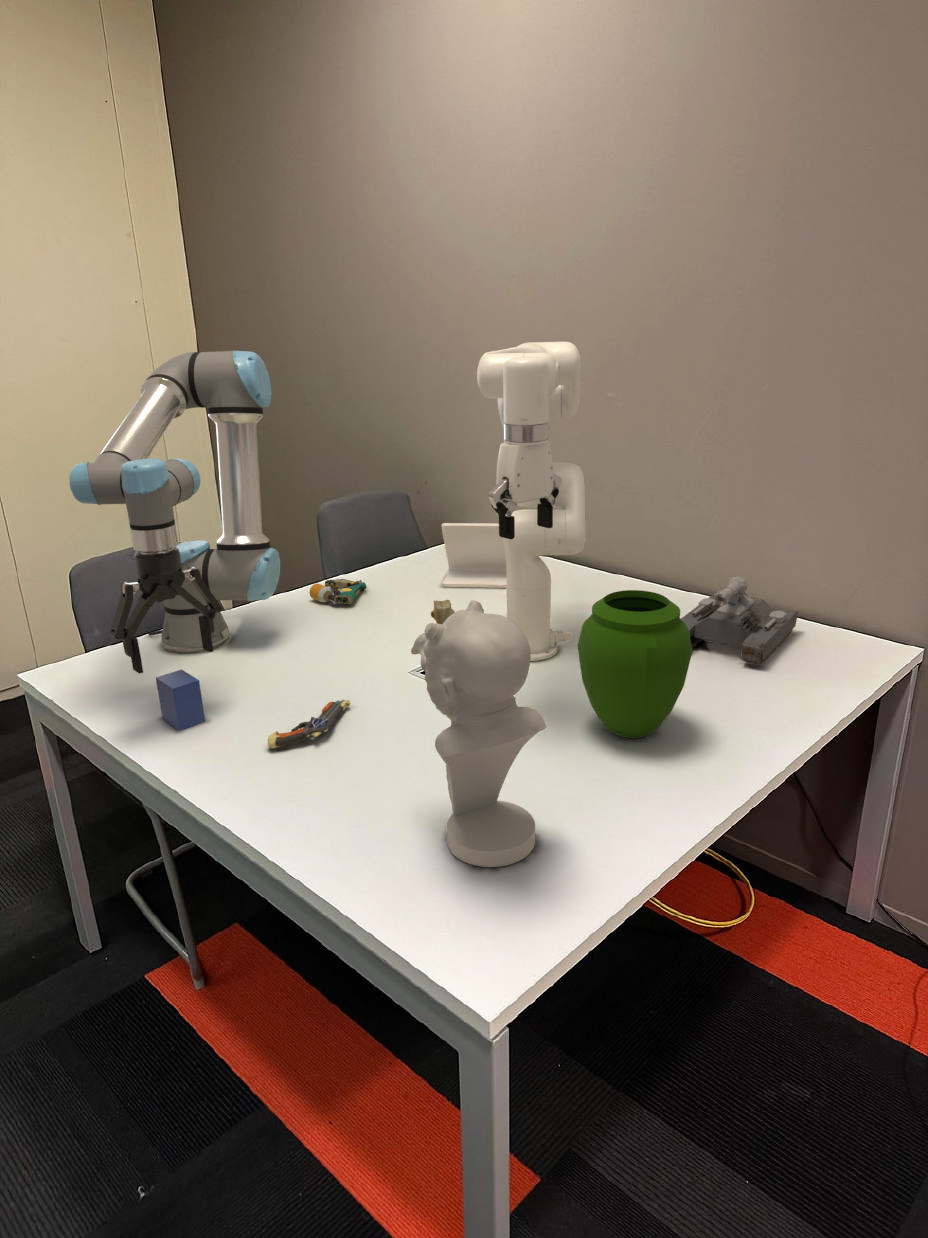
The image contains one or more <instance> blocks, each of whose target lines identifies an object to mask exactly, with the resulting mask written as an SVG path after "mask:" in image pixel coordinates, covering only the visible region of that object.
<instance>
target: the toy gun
mask: <svg viewBox="0 0 928 1238" xmlns="http://www.w3.org/2000/svg"><path fill="white" fill-rule="evenodd" d="M348 707H351V700H349V699H346V700H345V699H341V700H336V701H329V702H328V703H327V704H326V705H325V706H324V707H323V708H322V709H321V714H320V715H319V716H317V717H314V716H311V717H310V719H309V721H303V722H300V723H298V725H296V726H294V727H293V728H292V729H291V731H288V732H281V733H280V732H279V731H278V730H275V731H273V732H272V733H271V734H269V735H268V737H267V745H268V748H269V749H277V748H280V747H284V746H287V745H291V744H294V743H297V742H301V741H304V740H308V739H310V738H313V737H314V738H317V737H318V736H321V735H322V734H324V733H326V732H328V730H330V728H332V727H333V725H334V723H335V720H336V719H337V718H338V717H339V716H340V714H341V713H342V712H343V711H345V709H346V708H348Z"/></svg>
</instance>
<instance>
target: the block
mask: <svg viewBox="0 0 928 1238" xmlns="http://www.w3.org/2000/svg"><path fill="white" fill-rule="evenodd" d="M155 683H156V689H157V695H158V701H159V706H160V711H161V718H162V719H163V720H164V721H166V722H167V723H168V724H170V725H171V726H172V727H174V728H175V729H176V730H178V731H179V732H180V731H184V730H185V729H189V728H192V727H194V726H196V725H199V724H202V723H205V722H206V716H205V710H204V703H203V696H202V690H201V689H202V688H201V683H200V680H199V679H198V678H196V677H195V676H193V675H191V674H190V673H188V672H187V671H185V670H184V669H182V668H181V669H178V670H175V671H172V672H169V673H165V674H162V675H160V676H156V677H155Z"/></svg>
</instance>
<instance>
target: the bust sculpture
mask: <svg viewBox="0 0 928 1238" xmlns="http://www.w3.org/2000/svg"><path fill="white" fill-rule="evenodd" d="M454 612H455V613H453V614H452V615H451V616H450V617H448V618H447V619H446V620H445V622H444V623H443V624H436V623H435V622H430V623H428V624H427V625H426V626H425V628H424V632H423V633H421V634H419V635H418V636H417V637H416V638H415V640H414V642H413V645H412V647H411V649H410V654H412V655H420V667H421V669H422V670H423V672H424V681H425V682H426V690H427V693H428V696H429V698H430V701H431V702H432V704H434V706H435V708H436V710H438V711H439V712H440V713H441V714H442V716H446V717H447V718H448V719H449V720H450V726H448V727H446V728H445V729H443V730H442V731H441V732H440V733H439V734H438V735H436V738H435V741H434V748H435V749H436V752H437V753H438V755H439V757H440V758H441V760H442V761H443V762H444V763H445V771H446V781H447V790H448V796H449V800H450V803H451V810H452V813H451V814H450V815H449V817H448V819H447V822H446V844H447V847H448V849H449V851H450V852H451V854H452V855H453V856H454V857H456V858H457V859H459V860H460V861H462V862H463V863H466V864H469V865H471V866H476V867H483V868H498V867H505V866H509V865H512V864H517V862H520V861H521V860H523V859H525V858H527V856H528V855H530V854H531V852H532V851H533V849H535V848H534V847H535V845H536V822H535V821H536V820H535V819H534V817H533V816H532V814H531V813H530V812H529V811H528V810H526V809H525V808H524V807H522V806H520V805H517V804H515V803H513V802H509V801H504V800H499V796H500V793H501V790H502V788H503V785H504V783H505V780H506V778H507V776H508V773H509V771H510V769H511V768H512V765H513V763H514V761H515V760H516V759H517V756H518V755H519V753H520V752H521V750H522V749H523V748H524V747H525V745H526V744H527V743H528V742H529V741H530V740H531V739H532V738H533V737H535V735H537V734H538V733H539V732H541V731H544V730H545V729H546V728H547V725H546V723H545V720H544V718H543V717H542V714H541V713H540V712H539V711H538V710H537V709H535V708H533V707H530V706H518V705H517V701H516V699H517V698H516V696H515V695H516V694H517V693H519V691H521V689H522V688H523V686H524V684H525V683H526V680H527V678H528V675H529V669H530V666H531V661H530V656H531V655H530V653H531V652H530V646H529V643H528V640H527V638H526V636H525V634H524V633H523V632H522V630H521V629H520V628H519V627H518V626H517V625H516V624H515V623H514V622H513V621H512V620H511V619H509V618H507V616H504V615H503V614H502V615H501V614H496V613H485V609H484V607H483V605H482V603H481V602H480V601H478V600H473V599H472V600H470V601H469V603H468V605H467V607H466V609H460V610H457V611H454Z"/></svg>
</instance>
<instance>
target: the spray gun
mask: <svg viewBox="0 0 928 1238" xmlns="http://www.w3.org/2000/svg"><path fill="white" fill-rule="evenodd" d="M366 589H367V584H366V582H364V581H362V579H360V580H356V581H353V580H349V579H346V578H337V579H326V580H325V582H324V585H323V584H321V583H314V584H312V585H311V586H310V588H309V592H308V594H309V596H310V598H311V599H313V600H315V601H318V602H321V603H328V602H330V601H331V602H334V603H335V604H344V605H345V604H346V605H352V604H353V602H354V601H355V600H356V599H357V597H358V596H359V594H360V593H363V592H364V591H366Z"/></svg>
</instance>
